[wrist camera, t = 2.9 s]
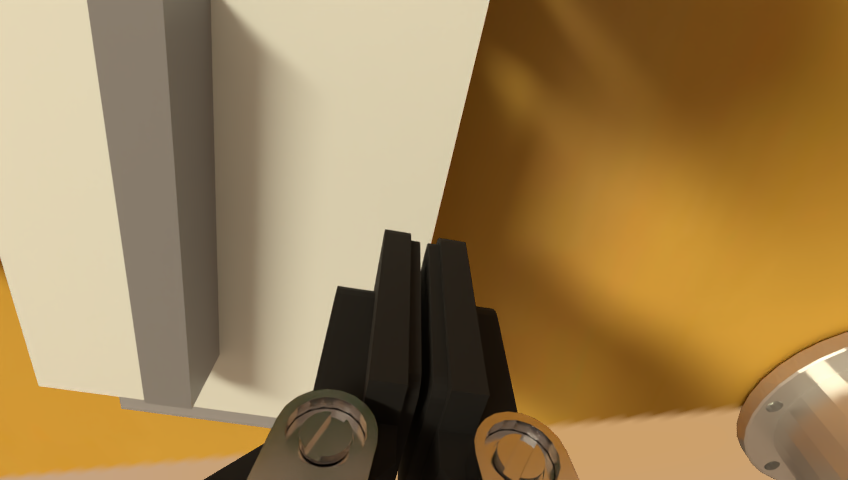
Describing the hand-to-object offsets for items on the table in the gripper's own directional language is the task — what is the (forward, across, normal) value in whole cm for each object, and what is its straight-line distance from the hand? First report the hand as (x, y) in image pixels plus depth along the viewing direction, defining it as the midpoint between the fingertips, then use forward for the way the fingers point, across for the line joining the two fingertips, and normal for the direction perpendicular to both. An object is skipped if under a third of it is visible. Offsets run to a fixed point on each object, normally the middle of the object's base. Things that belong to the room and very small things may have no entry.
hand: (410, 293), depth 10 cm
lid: (+3, +5, 0) cm, 6 cm away
